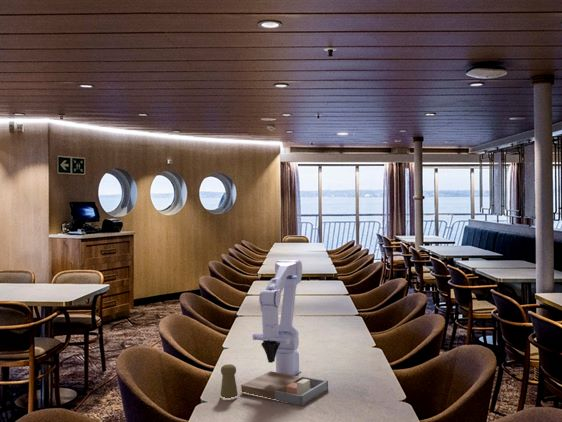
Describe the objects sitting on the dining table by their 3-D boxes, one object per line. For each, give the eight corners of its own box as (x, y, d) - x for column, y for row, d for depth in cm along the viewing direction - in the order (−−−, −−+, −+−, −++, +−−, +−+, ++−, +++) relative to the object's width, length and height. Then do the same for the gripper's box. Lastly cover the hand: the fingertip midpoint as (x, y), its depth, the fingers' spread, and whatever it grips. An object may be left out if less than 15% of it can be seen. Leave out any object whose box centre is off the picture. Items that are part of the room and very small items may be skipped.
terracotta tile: (292, 389, 194) (292, 382, 194) (303, 391, 191) (303, 384, 191) (285, 393, 190) (285, 386, 190) (297, 395, 188) (296, 388, 188)
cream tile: (303, 378, 191) (309, 379, 190) (303, 391, 191) (310, 392, 190) (296, 382, 187) (302, 383, 186) (296, 395, 188) (303, 397, 186)
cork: (238, 394, 192) (237, 362, 192) (237, 400, 186) (236, 367, 186) (220, 394, 192) (220, 362, 192) (219, 400, 186) (218, 368, 186)
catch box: (302, 385, 200) (302, 376, 200) (328, 389, 194) (327, 380, 194) (275, 400, 185) (274, 391, 185) (301, 406, 179) (301, 396, 179)
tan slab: (270, 379, 207) (270, 371, 207) (302, 385, 200) (302, 376, 200) (241, 393, 192) (241, 385, 192) (275, 400, 185) (274, 391, 185)
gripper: (247, 324, 198) (248, 362, 198) (281, 328, 190) (282, 367, 190) (258, 320, 204) (259, 357, 204) (292, 324, 196) (293, 362, 196)
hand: (271, 361), depth 197 cm, fingers closed
